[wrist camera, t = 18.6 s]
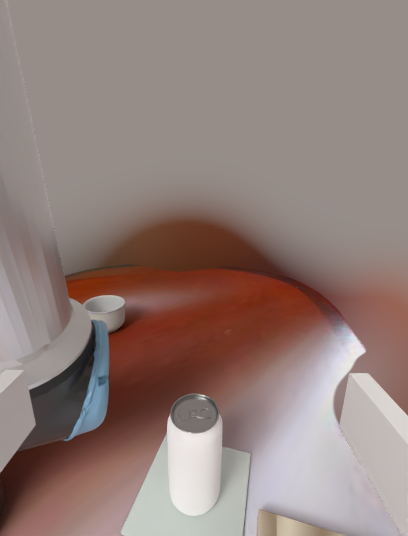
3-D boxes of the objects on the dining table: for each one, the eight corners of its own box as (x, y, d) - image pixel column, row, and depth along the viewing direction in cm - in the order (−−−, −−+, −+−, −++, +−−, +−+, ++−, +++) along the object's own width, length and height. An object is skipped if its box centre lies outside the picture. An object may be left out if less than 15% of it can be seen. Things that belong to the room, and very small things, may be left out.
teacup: (126, 317, 79) (124, 293, 77) (127, 335, 69) (125, 308, 67) (76, 323, 75) (73, 298, 73) (69, 343, 65) (65, 314, 63)
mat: (120, 534, 28) (120, 532, 28) (167, 433, 41) (166, 432, 41) (238, 578, 25) (238, 576, 25) (250, 455, 37) (250, 453, 37)
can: (170, 463, 36) (168, 391, 33) (217, 461, 36) (219, 389, 33) (166, 520, 30) (163, 437, 26) (223, 517, 30) (227, 435, 27)
